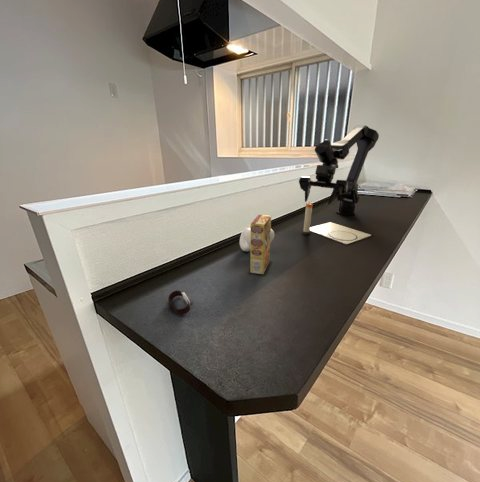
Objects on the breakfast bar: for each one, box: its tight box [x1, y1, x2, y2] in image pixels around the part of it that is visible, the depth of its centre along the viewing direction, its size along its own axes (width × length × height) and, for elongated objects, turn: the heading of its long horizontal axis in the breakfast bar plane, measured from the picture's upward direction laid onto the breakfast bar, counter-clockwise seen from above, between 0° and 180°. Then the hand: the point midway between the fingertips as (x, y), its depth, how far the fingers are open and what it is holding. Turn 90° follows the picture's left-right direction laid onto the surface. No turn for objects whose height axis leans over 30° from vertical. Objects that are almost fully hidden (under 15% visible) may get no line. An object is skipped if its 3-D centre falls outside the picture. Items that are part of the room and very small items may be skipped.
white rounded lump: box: [239, 223, 275, 253], centre depth 89 cm, size 11×12×9 cm
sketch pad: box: [309, 221, 372, 245], centre depth 107 cm, size 20×16×1 cm
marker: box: [302, 202, 314, 236], centre depth 103 cm, size 2×2×12 cm
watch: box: [167, 290, 191, 315], centre depth 61 cm, size 8×5×4 cm, turn 33°
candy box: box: [249, 214, 272, 275], centre depth 77 cm, size 9×4×15 cm, turn 162°
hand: (316, 202), depth 104 cm, fingers open, 9 cm apart
